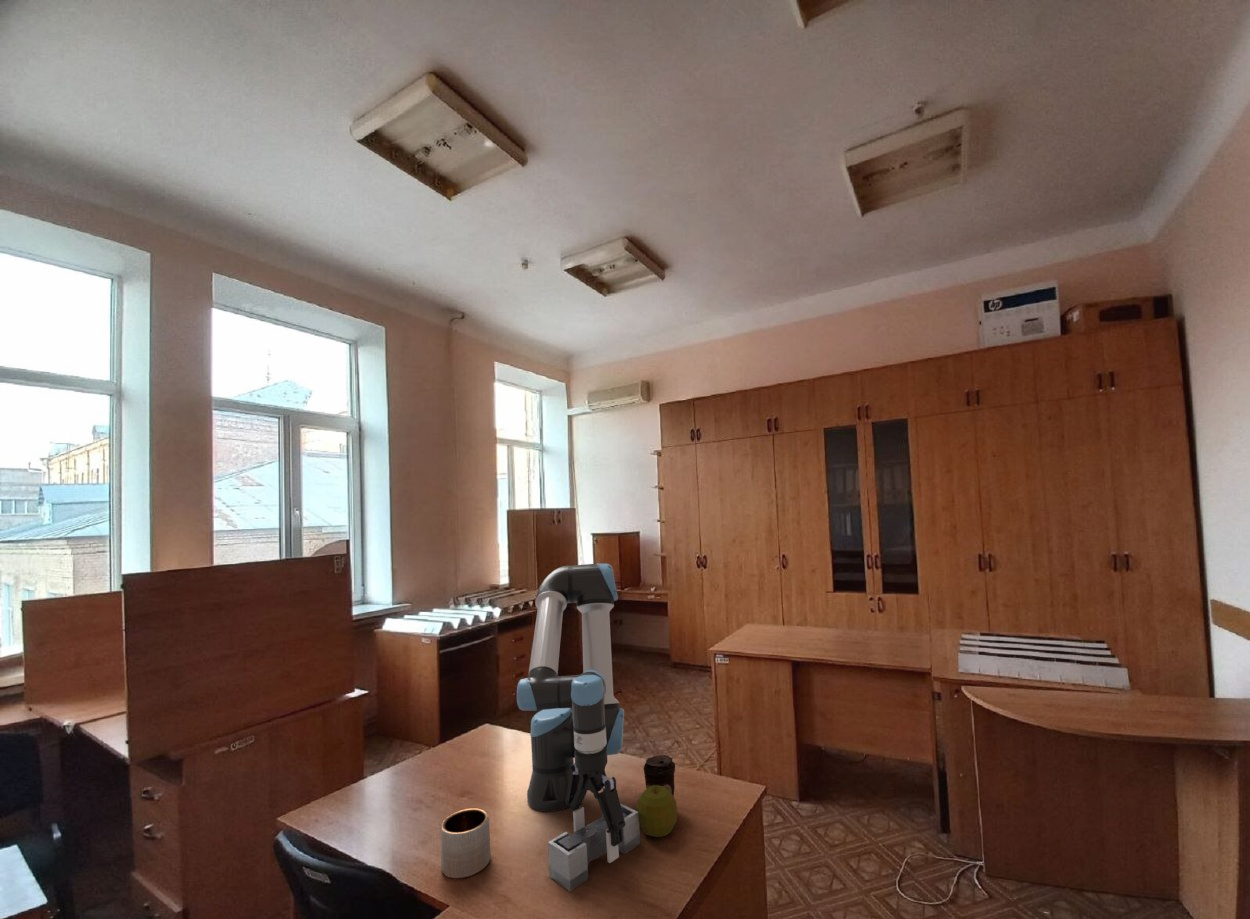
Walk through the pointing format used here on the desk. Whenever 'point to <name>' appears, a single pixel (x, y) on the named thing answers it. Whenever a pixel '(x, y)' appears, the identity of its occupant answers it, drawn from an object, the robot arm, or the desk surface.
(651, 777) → the coffee cup
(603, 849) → the rail
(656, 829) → the apple
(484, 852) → the planter
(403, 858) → the desk surface
